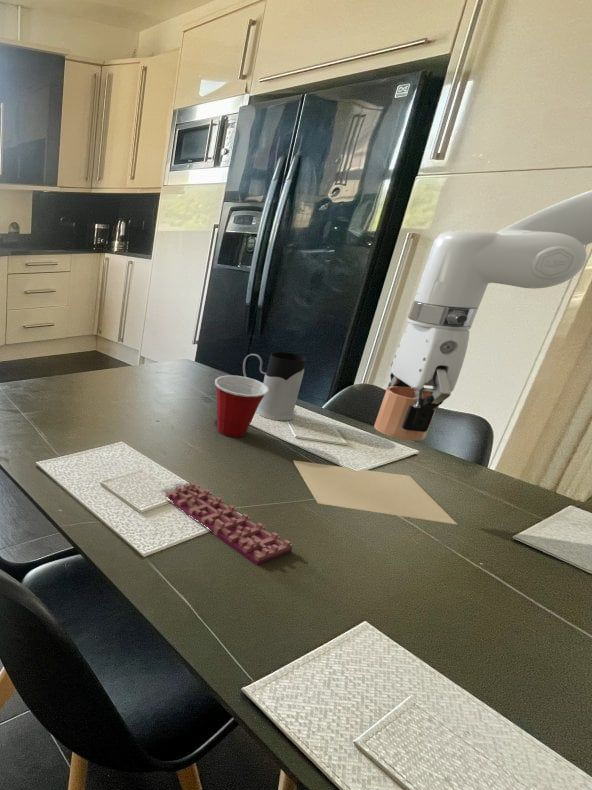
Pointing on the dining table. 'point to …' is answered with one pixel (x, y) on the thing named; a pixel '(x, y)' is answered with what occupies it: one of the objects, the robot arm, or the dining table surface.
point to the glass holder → (280, 385)
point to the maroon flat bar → (229, 524)
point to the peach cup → (397, 413)
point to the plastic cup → (237, 403)
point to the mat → (370, 491)
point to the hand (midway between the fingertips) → (402, 420)
